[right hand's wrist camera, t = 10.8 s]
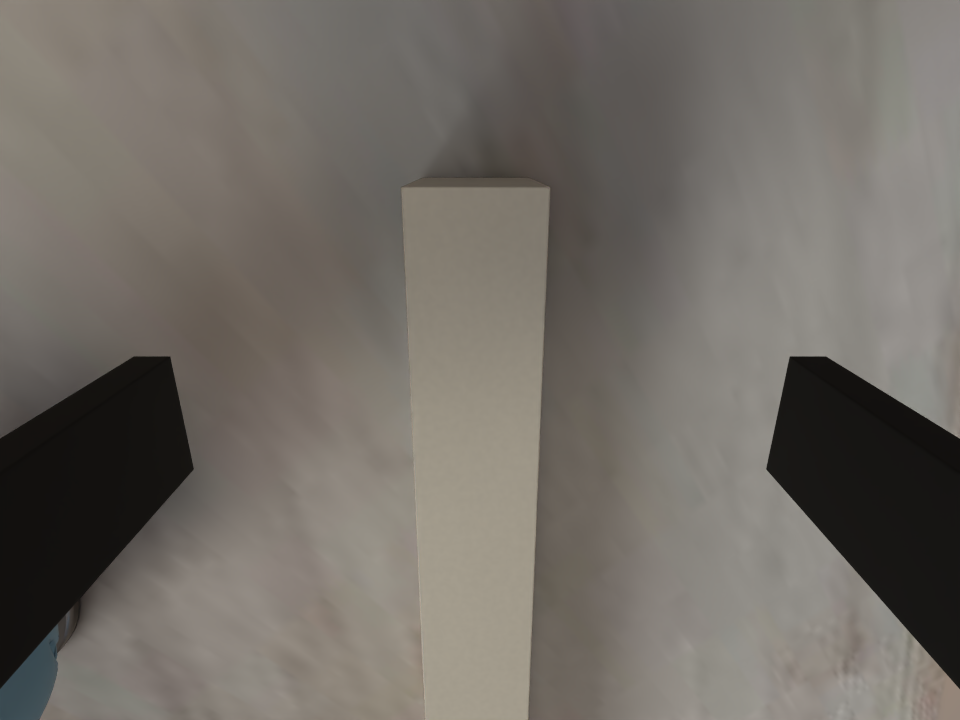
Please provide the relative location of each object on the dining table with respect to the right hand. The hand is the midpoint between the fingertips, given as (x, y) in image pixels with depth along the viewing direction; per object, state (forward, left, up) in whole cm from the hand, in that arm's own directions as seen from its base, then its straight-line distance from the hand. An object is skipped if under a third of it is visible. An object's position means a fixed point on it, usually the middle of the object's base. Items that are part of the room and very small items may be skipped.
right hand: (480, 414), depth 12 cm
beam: (+15, +17, -21) cm, 31 cm away
